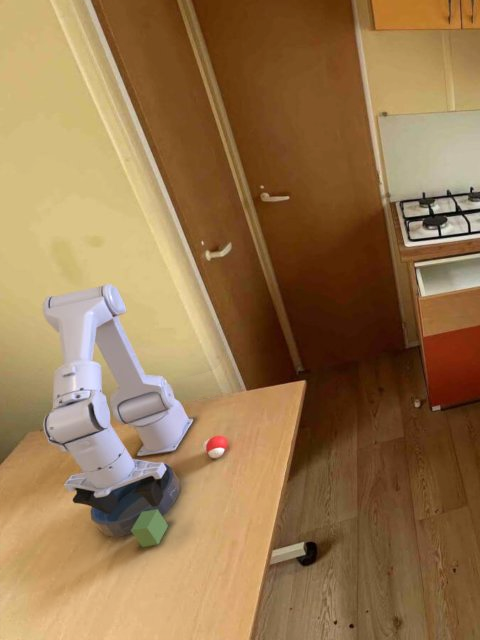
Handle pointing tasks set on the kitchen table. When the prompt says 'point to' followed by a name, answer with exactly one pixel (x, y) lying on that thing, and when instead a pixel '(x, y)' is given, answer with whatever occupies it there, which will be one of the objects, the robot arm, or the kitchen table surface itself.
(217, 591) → the kitchen table surface
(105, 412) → the robot arm
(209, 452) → the molecule
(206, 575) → the kitchen table surface
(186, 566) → the kitchen table surface
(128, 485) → the bowl
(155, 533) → the green block
